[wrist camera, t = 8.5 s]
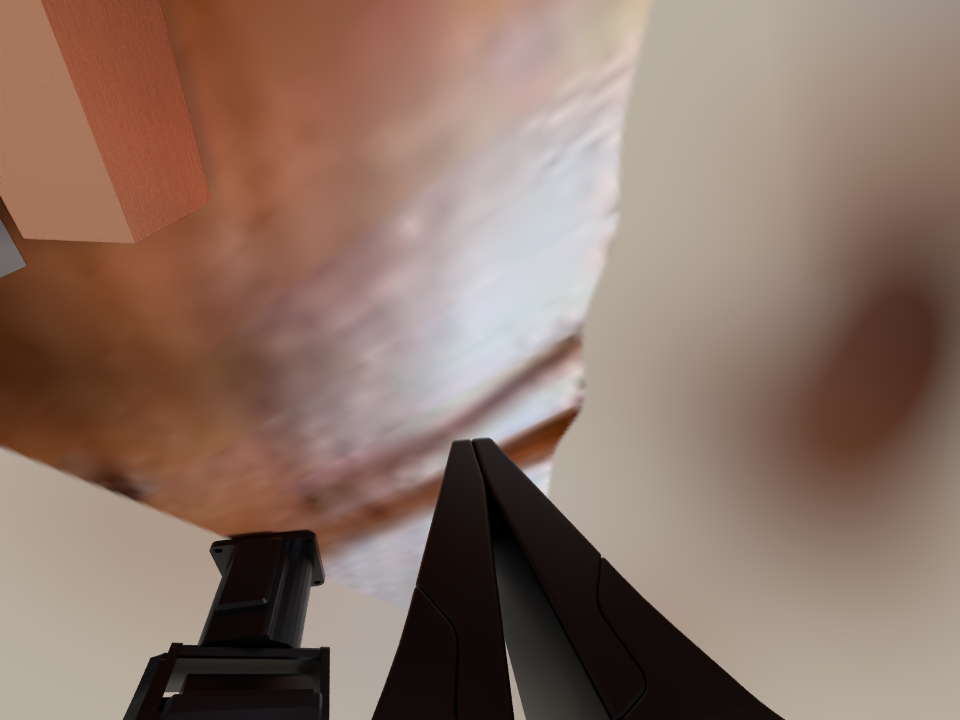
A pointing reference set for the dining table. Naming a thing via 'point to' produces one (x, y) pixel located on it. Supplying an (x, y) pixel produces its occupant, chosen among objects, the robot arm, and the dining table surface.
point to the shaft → (93, 122)
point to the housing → (8, 253)
